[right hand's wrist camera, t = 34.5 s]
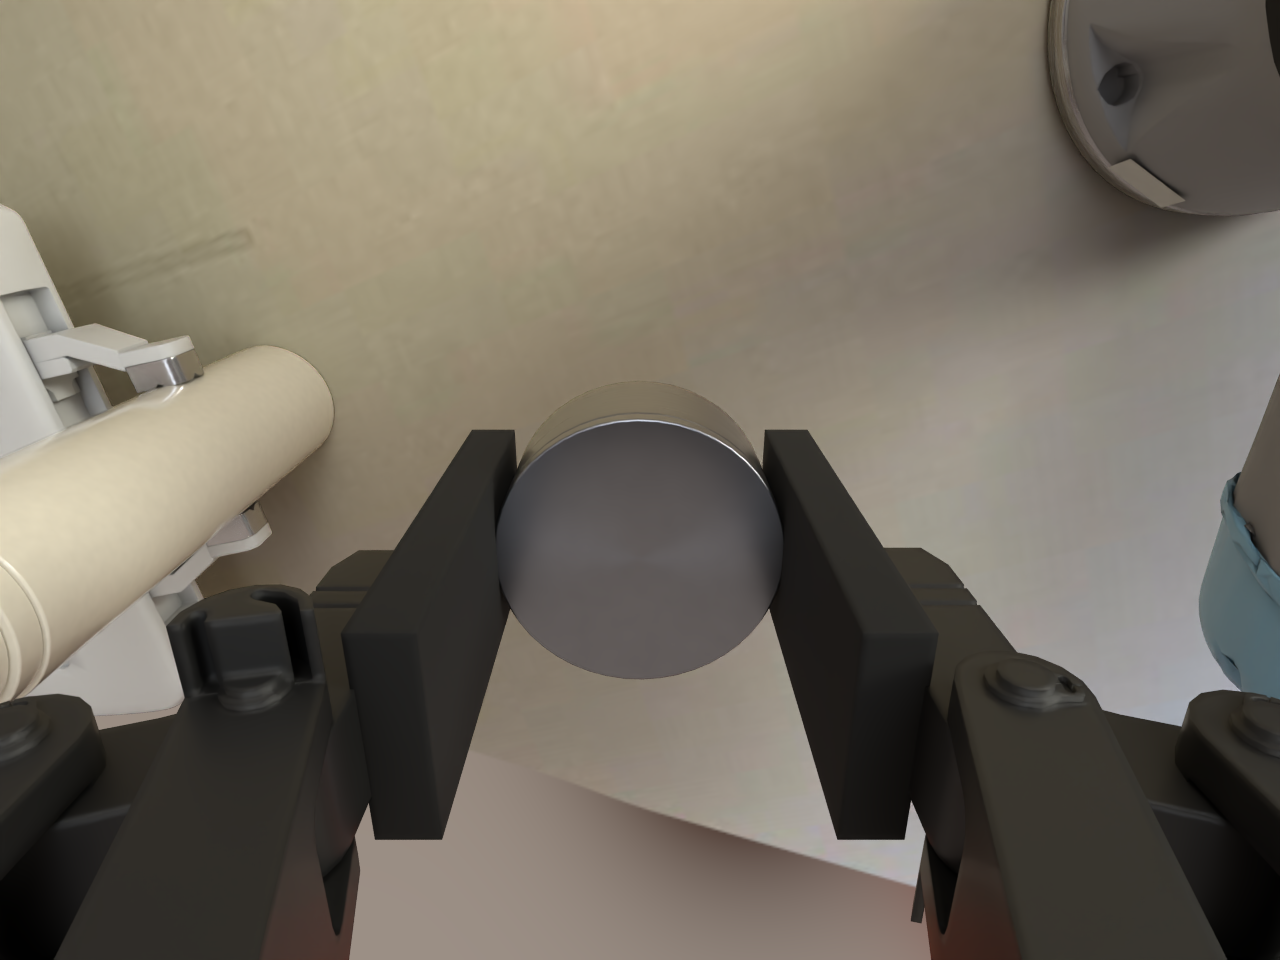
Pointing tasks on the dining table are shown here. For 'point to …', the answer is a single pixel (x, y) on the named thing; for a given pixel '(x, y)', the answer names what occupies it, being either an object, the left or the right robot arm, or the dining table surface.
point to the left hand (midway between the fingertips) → (225, 442)
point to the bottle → (140, 498)
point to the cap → (639, 533)
